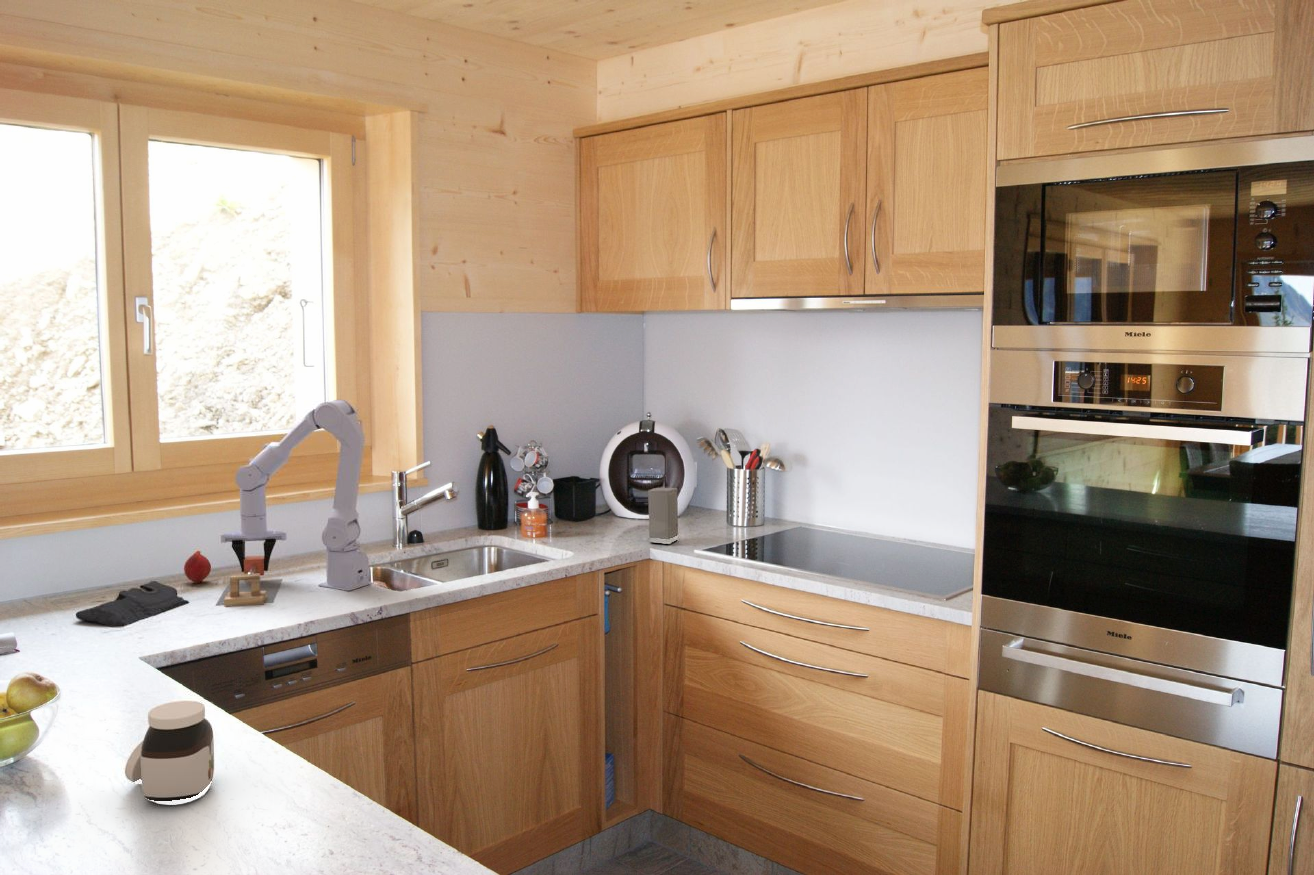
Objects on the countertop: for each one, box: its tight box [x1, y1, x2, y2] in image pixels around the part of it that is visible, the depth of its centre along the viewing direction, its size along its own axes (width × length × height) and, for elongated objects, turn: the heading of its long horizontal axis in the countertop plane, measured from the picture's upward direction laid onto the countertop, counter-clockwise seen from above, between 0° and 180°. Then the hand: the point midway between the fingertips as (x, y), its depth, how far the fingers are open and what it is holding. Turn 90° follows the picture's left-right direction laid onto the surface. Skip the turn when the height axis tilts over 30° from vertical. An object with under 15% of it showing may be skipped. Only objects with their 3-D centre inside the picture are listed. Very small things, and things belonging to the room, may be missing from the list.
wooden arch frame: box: [223, 573, 266, 607], centre depth 232 cm, size 6×8×6 cm
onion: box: [183, 549, 212, 584], centre depth 248 cm, size 6×6×8 cm
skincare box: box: [647, 487, 679, 539], centre depth 302 cm, size 8×7×16 cm
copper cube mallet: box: [243, 555, 267, 583], centre depth 243 cm, size 16×4×4 cm, turn 15°
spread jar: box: [124, 700, 215, 801], centre depth 139 cm, size 12×11×12 cm
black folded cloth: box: [75, 580, 190, 627], centre depth 224 cm, size 15×22×5 cm
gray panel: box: [215, 578, 283, 606], centre depth 241 cm, size 22×12×1 cm, turn 15°
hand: (255, 570), depth 249 cm, fingers closed on copper cube mallet, 4 cm apart
